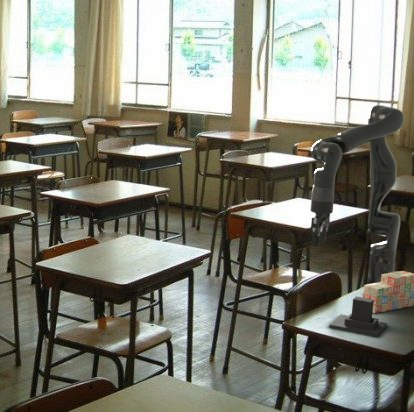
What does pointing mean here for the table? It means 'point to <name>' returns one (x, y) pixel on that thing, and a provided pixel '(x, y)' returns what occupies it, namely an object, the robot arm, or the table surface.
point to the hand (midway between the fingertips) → (318, 244)
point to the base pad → (358, 325)
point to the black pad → (362, 309)
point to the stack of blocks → (391, 291)
